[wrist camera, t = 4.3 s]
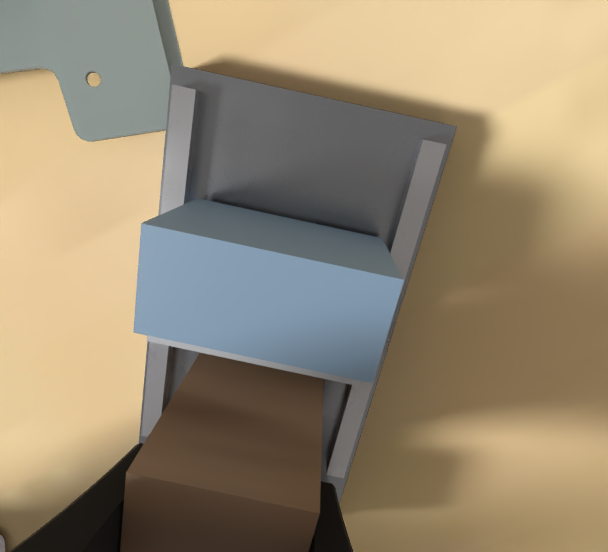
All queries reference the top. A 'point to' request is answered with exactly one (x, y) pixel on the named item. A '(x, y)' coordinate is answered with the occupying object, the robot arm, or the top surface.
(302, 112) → the vise
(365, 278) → the block
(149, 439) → the block
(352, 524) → the top surface
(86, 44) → the metal bracket
